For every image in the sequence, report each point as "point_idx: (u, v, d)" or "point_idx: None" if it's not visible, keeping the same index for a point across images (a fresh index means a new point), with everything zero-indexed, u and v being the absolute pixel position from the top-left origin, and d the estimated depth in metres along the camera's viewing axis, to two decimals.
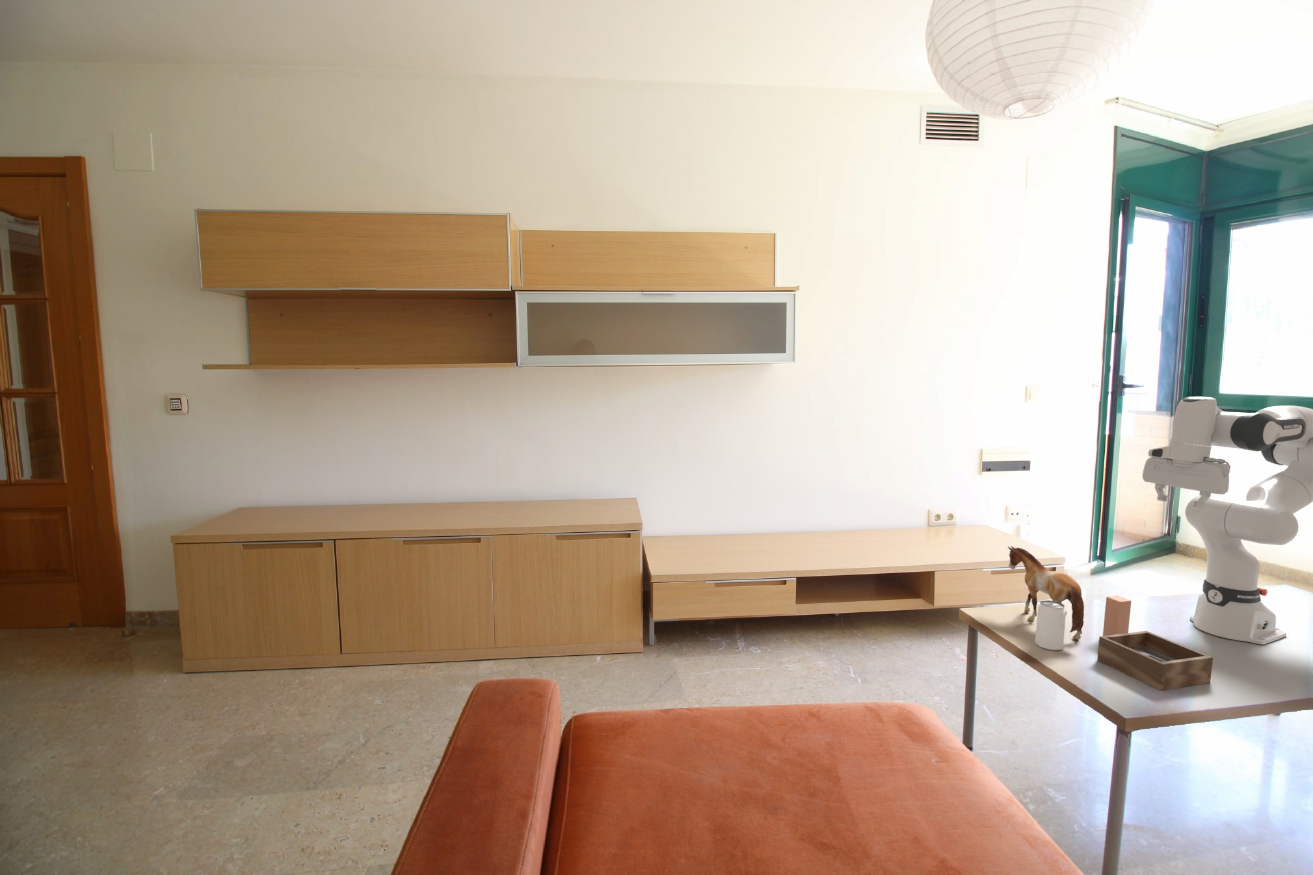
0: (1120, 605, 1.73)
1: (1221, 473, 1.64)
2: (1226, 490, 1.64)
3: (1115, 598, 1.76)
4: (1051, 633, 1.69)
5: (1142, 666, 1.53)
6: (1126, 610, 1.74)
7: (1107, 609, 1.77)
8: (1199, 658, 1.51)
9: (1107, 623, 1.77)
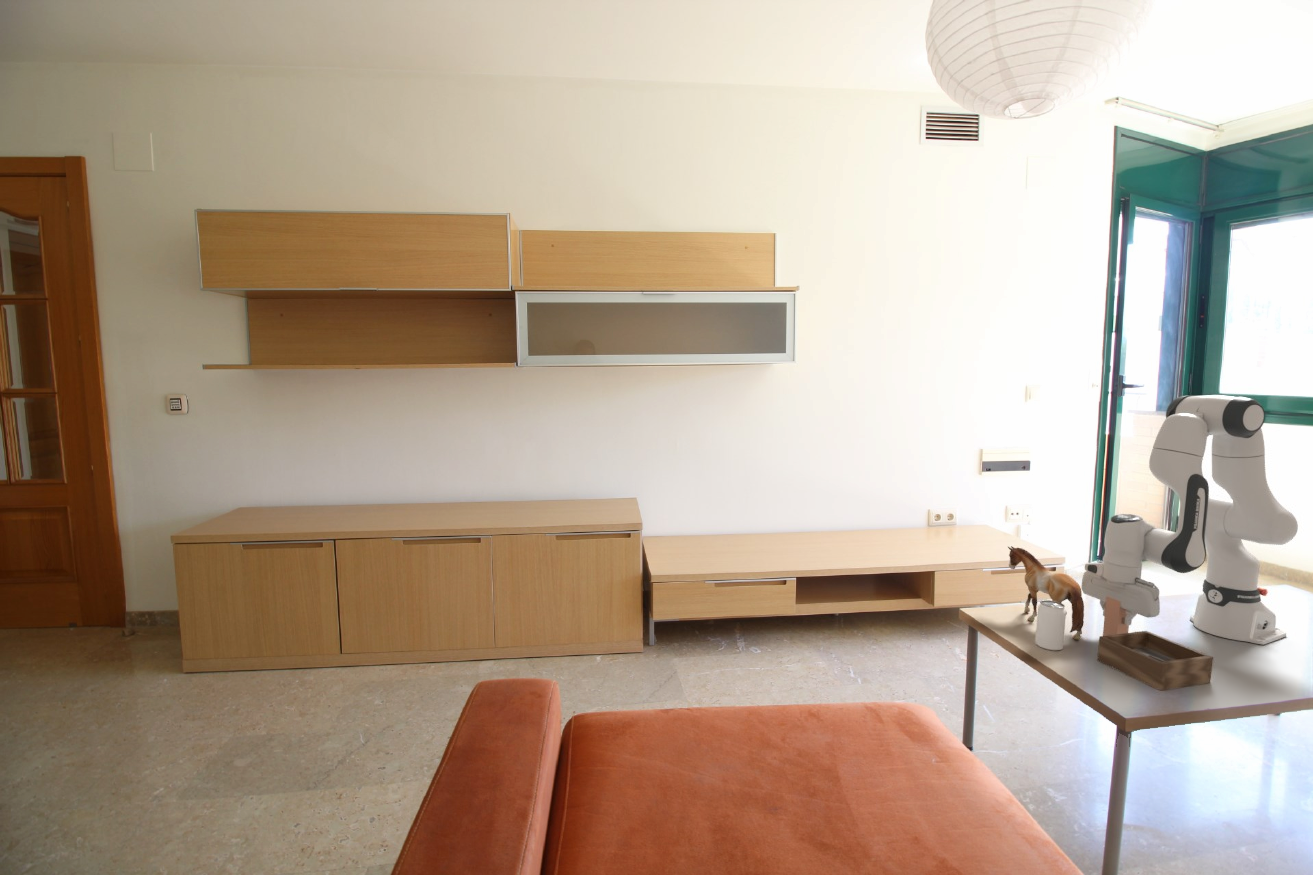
0: None
1: (1151, 598, 1.66)
2: (1157, 613, 1.66)
3: None
4: (1051, 633, 1.69)
5: (1142, 666, 1.53)
6: None
7: (1107, 609, 1.77)
8: (1199, 658, 1.51)
9: (1107, 623, 1.77)
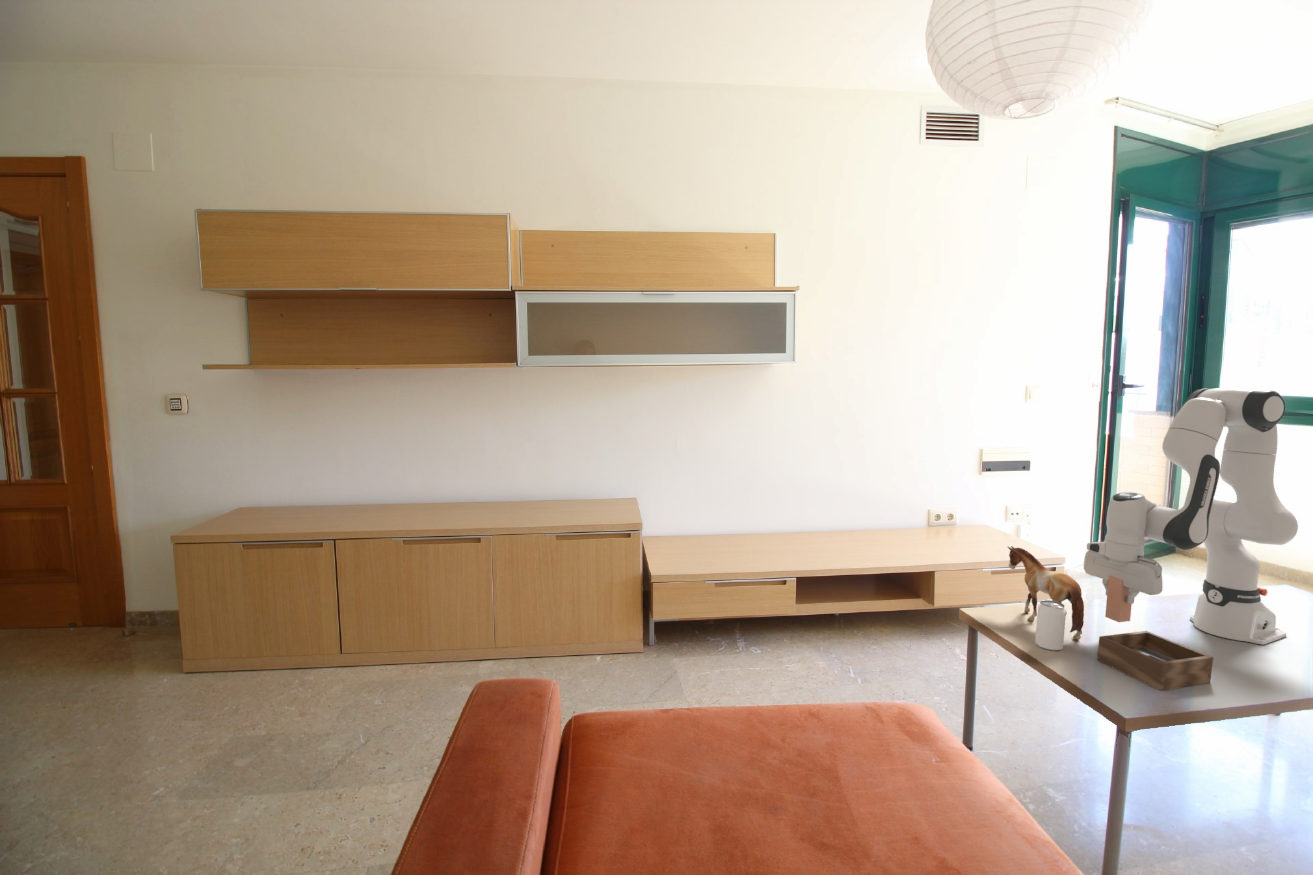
0: None
1: (1154, 575, 1.65)
2: (1160, 590, 1.66)
3: None
4: (1051, 633, 1.69)
5: (1142, 666, 1.53)
6: None
7: (1110, 588, 1.76)
8: (1199, 658, 1.51)
9: (1110, 602, 1.76)
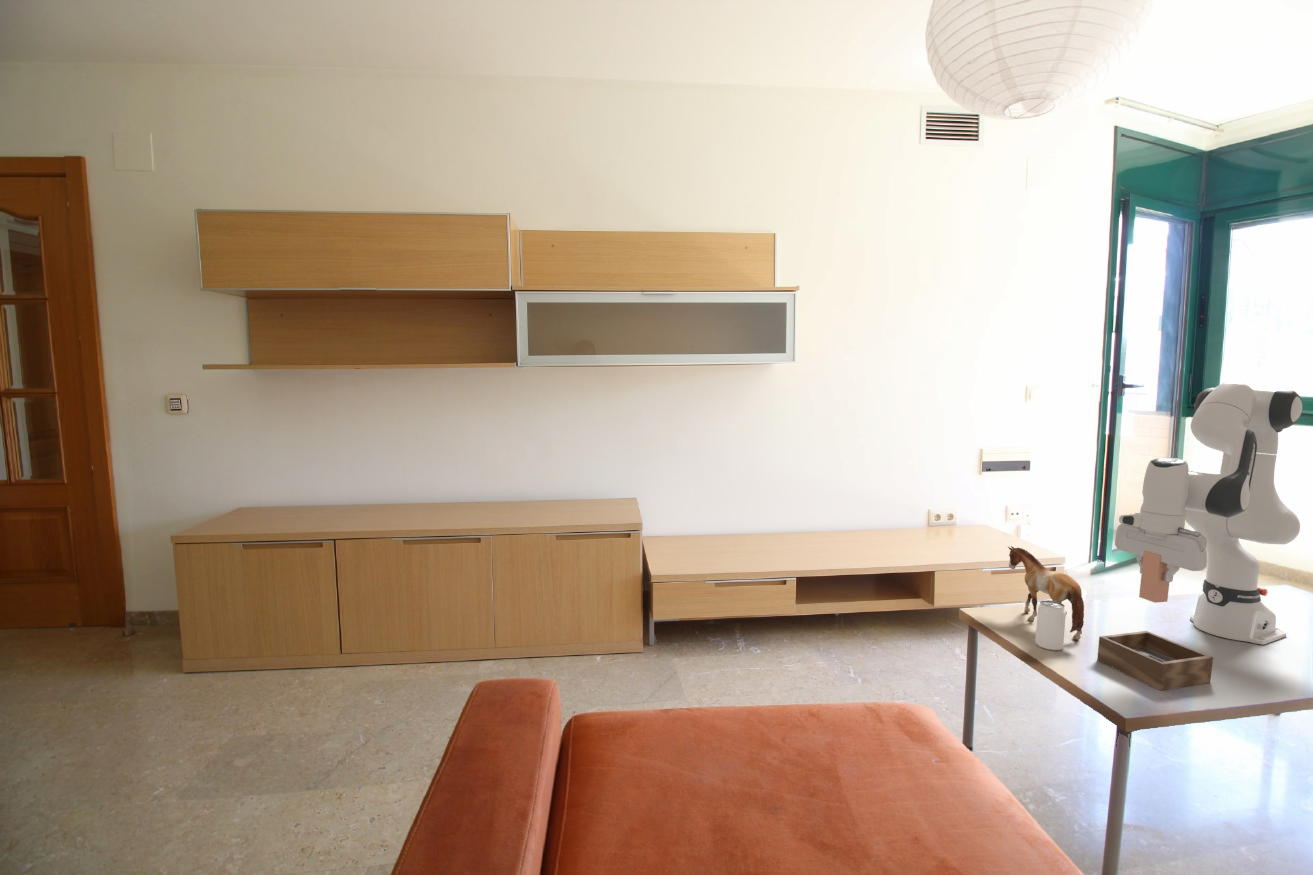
0: (1160, 559, 1.55)
1: (1197, 548, 1.47)
2: (1204, 566, 1.48)
3: None
4: (1051, 633, 1.69)
5: (1142, 666, 1.53)
6: None
7: (1145, 565, 1.58)
8: (1199, 658, 1.51)
9: (1145, 580, 1.58)
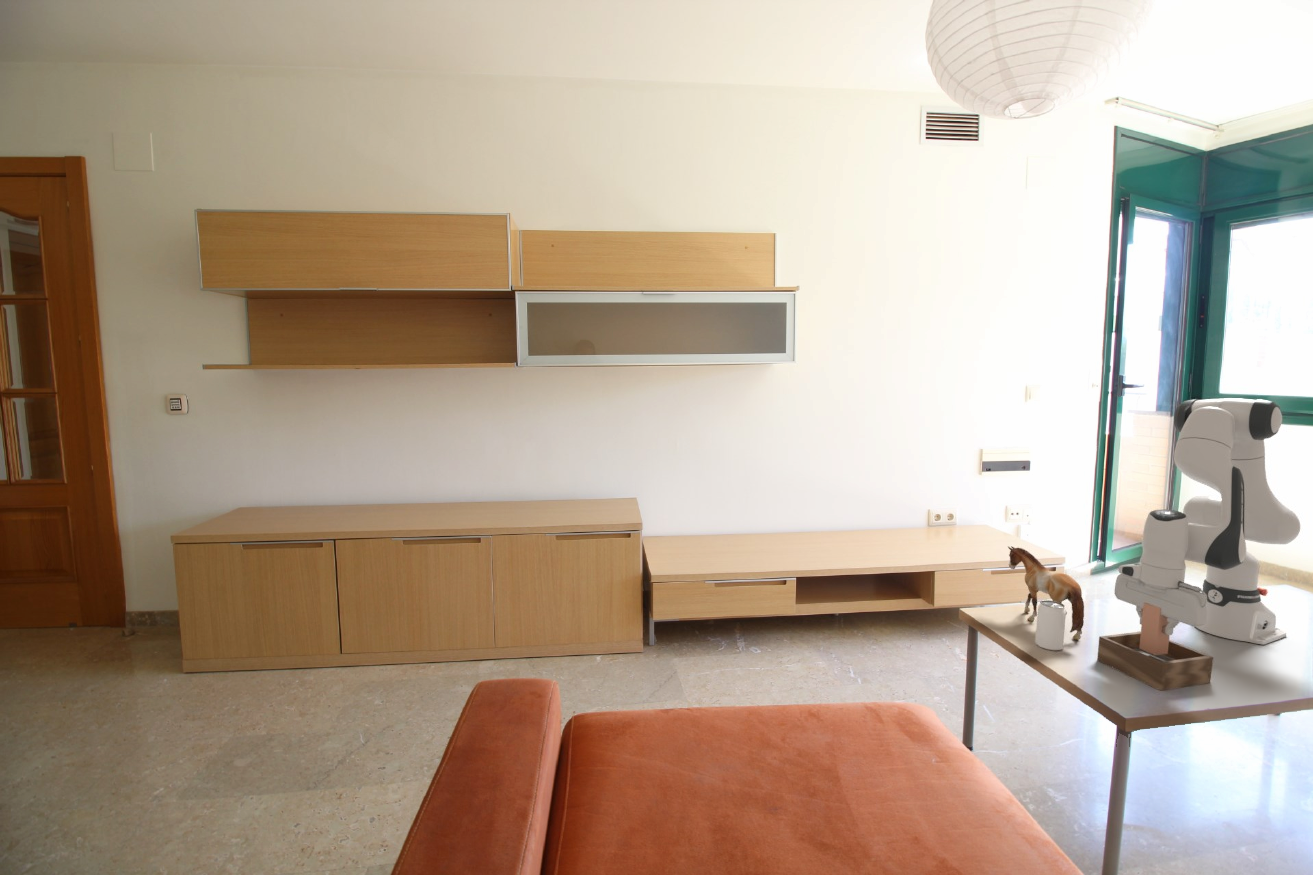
0: (1160, 612, 1.54)
1: (1197, 604, 1.47)
2: (1204, 622, 1.47)
3: None
4: (1051, 633, 1.69)
5: (1142, 666, 1.53)
6: None
7: (1145, 616, 1.58)
8: (1199, 658, 1.51)
9: (1145, 632, 1.58)
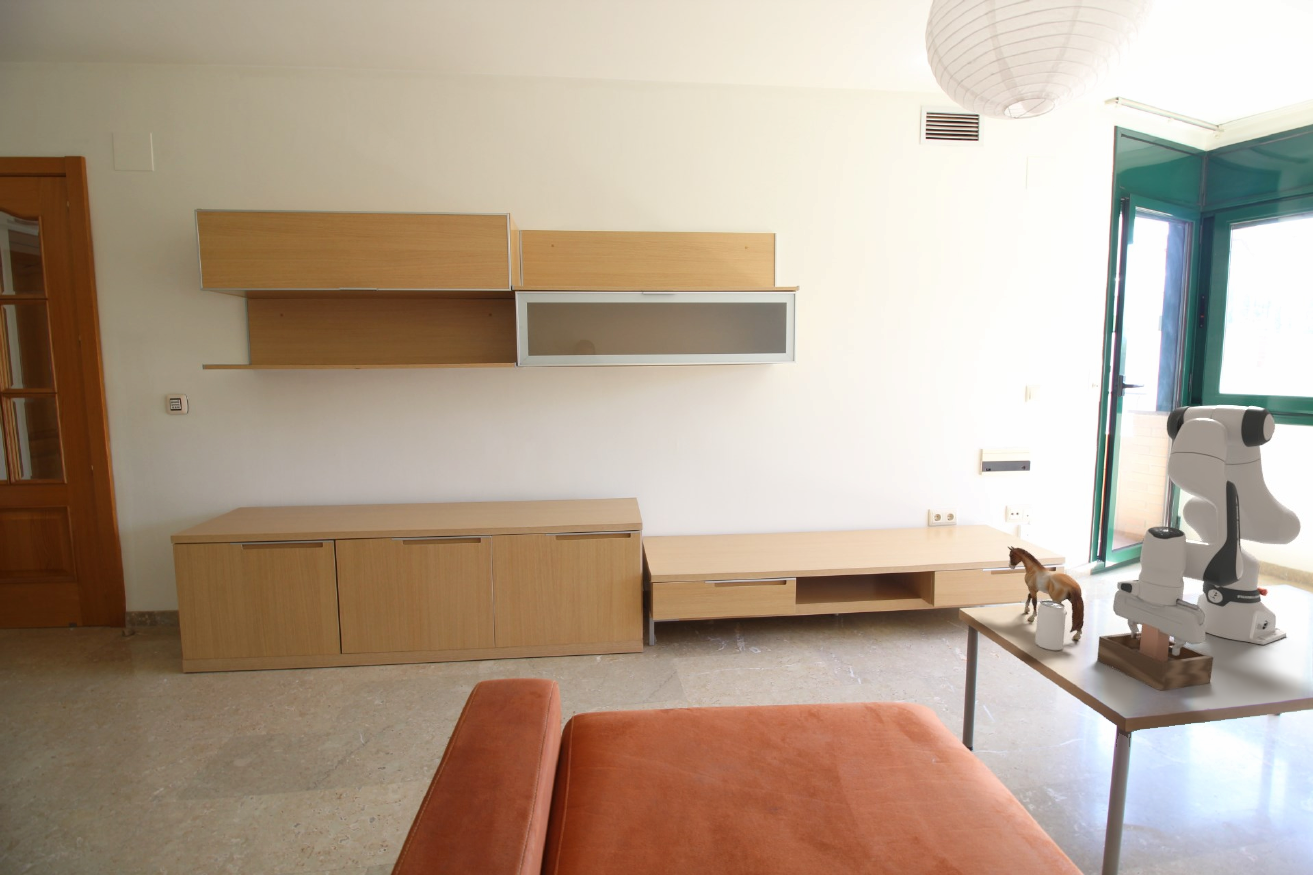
0: (1158, 633, 1.55)
1: (1196, 622, 1.47)
2: (1203, 639, 1.48)
3: None
4: (1051, 633, 1.69)
5: (1142, 666, 1.53)
6: (1165, 639, 1.56)
7: (1143, 637, 1.58)
8: (1199, 658, 1.51)
9: (1143, 653, 1.58)
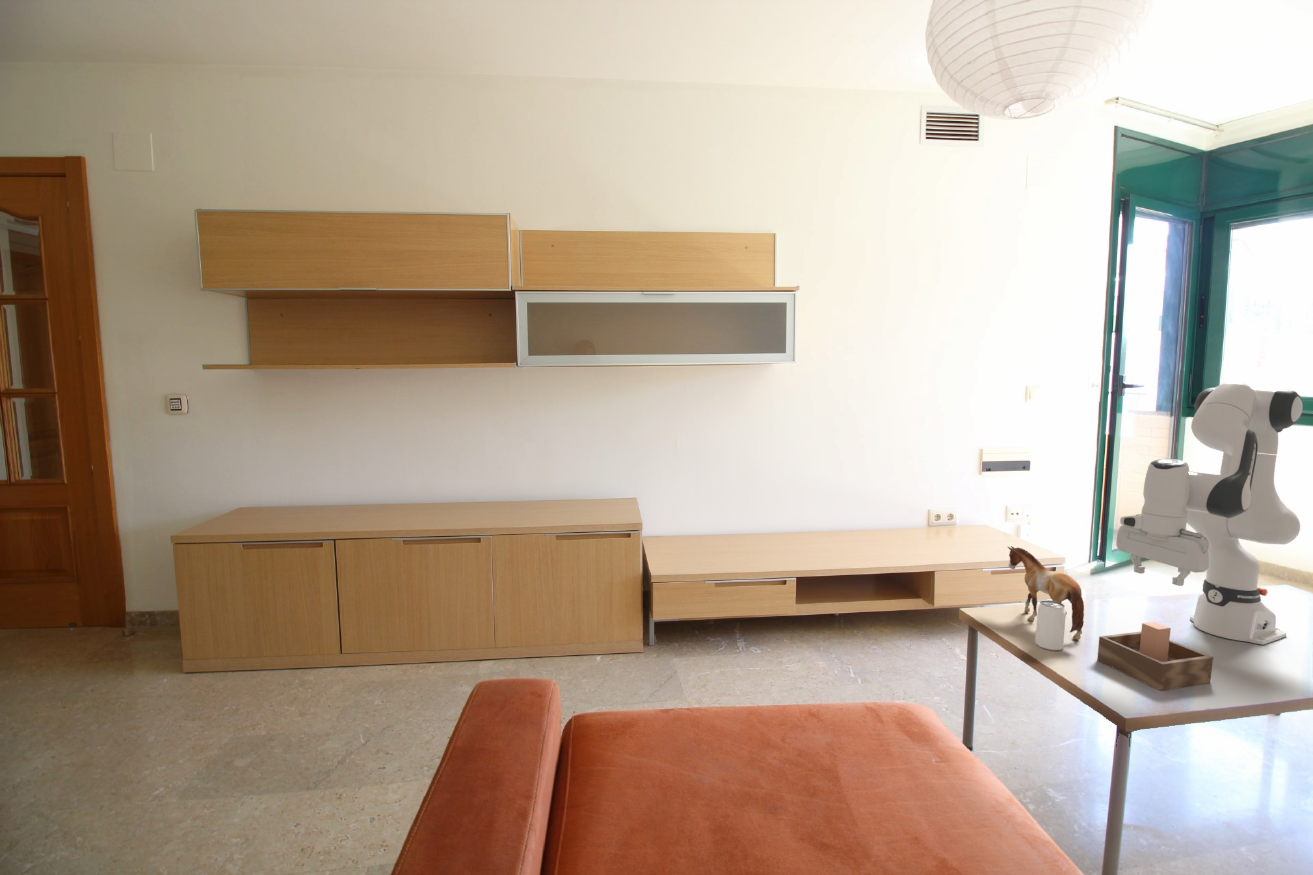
0: (1159, 633, 1.55)
1: (1199, 550, 1.47)
2: (1206, 567, 1.48)
3: (1152, 625, 1.57)
4: (1051, 633, 1.69)
5: (1142, 666, 1.53)
6: (1165, 639, 1.56)
7: (1143, 637, 1.58)
8: (1199, 658, 1.51)
9: (1143, 653, 1.58)
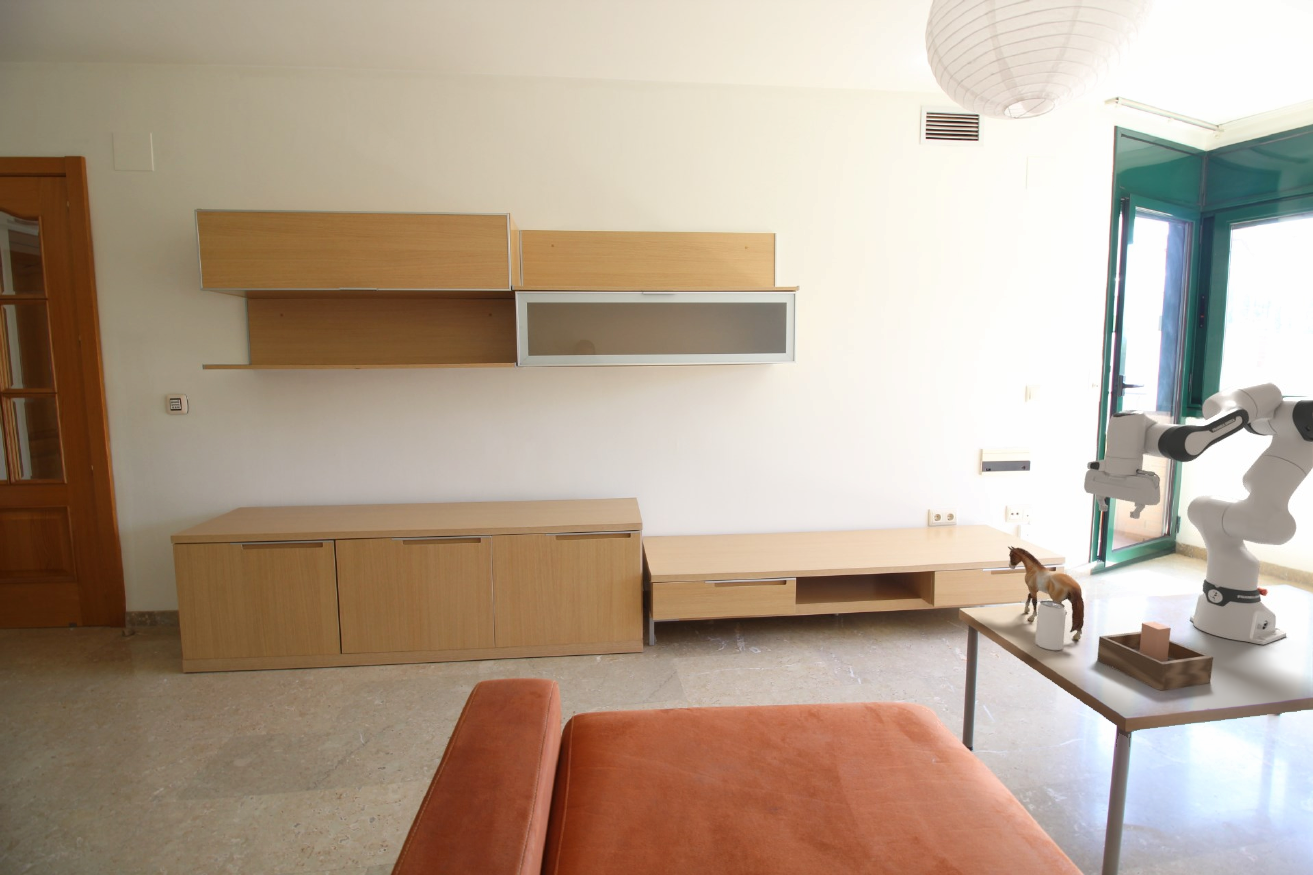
0: (1158, 633, 1.55)
1: (1152, 485, 1.71)
2: (1158, 501, 1.72)
3: (1152, 625, 1.57)
4: (1051, 633, 1.69)
5: (1142, 666, 1.53)
6: (1165, 639, 1.56)
7: (1143, 637, 1.58)
8: (1199, 658, 1.51)
9: (1143, 653, 1.58)
